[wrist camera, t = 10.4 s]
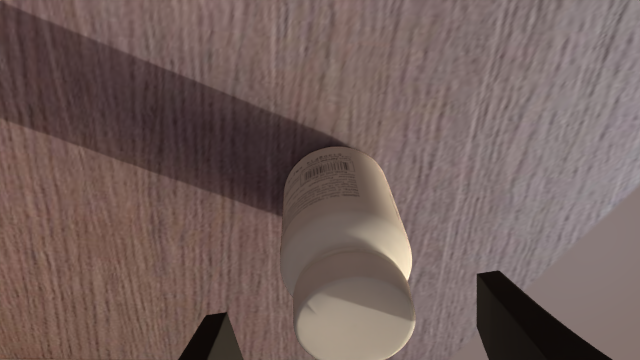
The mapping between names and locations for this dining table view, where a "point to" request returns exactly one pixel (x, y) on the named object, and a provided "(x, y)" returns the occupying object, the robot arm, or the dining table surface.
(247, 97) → the dining table surface
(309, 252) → the pill bottle
